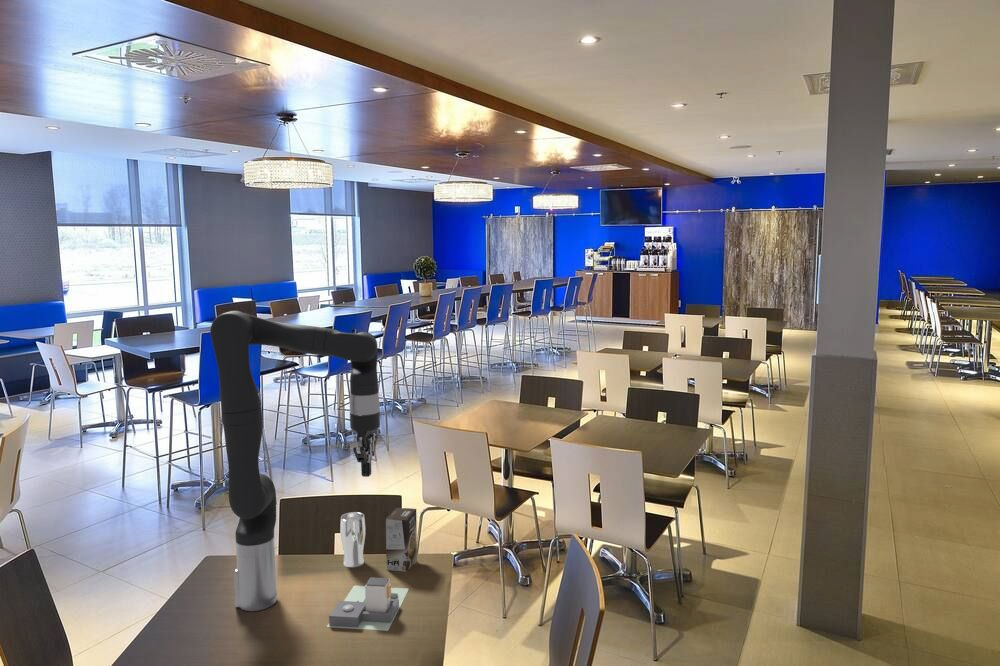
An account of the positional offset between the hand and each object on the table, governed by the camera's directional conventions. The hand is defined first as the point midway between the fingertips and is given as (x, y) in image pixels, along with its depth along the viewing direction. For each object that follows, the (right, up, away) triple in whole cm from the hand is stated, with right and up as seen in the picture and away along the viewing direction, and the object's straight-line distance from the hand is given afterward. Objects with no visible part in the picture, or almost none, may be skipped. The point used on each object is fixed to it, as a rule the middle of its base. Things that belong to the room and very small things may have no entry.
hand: (366, 475), depth 172 cm
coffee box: (+7, -30, +18) cm, 36 cm away
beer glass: (-7, -30, +18) cm, 36 cm away
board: (+2, -33, -6) cm, 33 cm away
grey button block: (-2, -32, -9) cm, 34 cm away
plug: (+5, -32, -9) cm, 34 cm away
